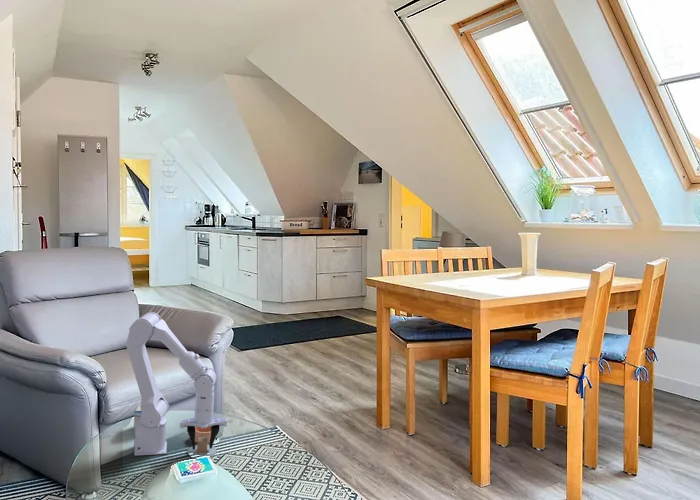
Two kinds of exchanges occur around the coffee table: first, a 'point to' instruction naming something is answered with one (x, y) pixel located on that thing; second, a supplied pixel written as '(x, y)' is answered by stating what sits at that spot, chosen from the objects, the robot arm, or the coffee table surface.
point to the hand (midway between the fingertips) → (202, 447)
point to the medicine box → (137, 417)
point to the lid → (202, 448)
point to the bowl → (203, 433)
